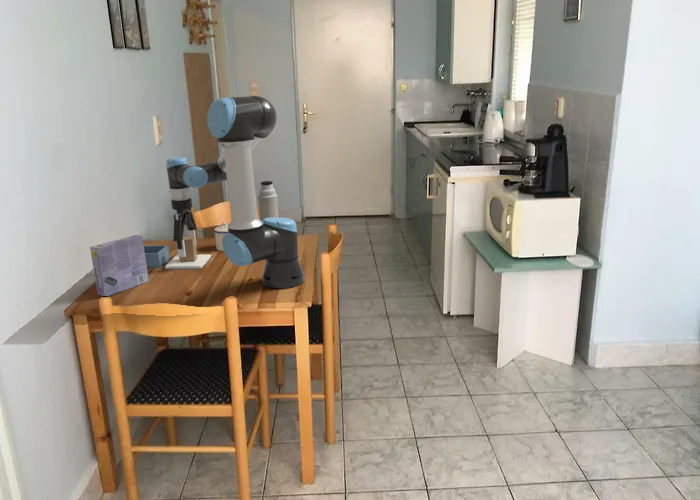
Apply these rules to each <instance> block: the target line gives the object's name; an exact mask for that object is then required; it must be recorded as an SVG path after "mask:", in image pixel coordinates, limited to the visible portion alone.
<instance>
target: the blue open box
mask: <svg viewBox="0 0 700 500" xmlns="http://www.w3.org/2000/svg"><path fill="white" fill-rule="evenodd" d="M169 246H170V245H169V244H168V245H167V244H163V245H162V244H160V245H157V244H155V245H153V244H151V245H145V244H144V251H145V258H146V265H147V269H155V268H156V269H157V268H158V269H159V268H162V267H163V266H164V265H165V264H166V263H167V262H169V260H170V259H171V255H170V248H169Z"/></svg>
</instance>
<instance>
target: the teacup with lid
mask: <svg viewBox="0 0 700 500" xmlns="http://www.w3.org/2000/svg"><path fill="white" fill-rule="evenodd" d="M229 224H230V223H228V222H227V221H223V222H222V223H221V224H220V225H219V226H216V227H215V228H214V230H213V232H214V236H215V237H214V238H215V245H216V250H217V251H219V252H224V249H223V245H222V239H223V236H224V235H225V234H227V233H228V225H229Z"/></svg>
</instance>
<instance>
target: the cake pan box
mask: <svg viewBox="0 0 700 500" xmlns="http://www.w3.org/2000/svg"><path fill="white" fill-rule="evenodd" d="M144 245H145V244H144V236H143V235H138V234H137V235H136V234H134V235H130V236H127V237H124V238H123V237H122V238H119V239H115V240H111V241H108V242H103V243H101V244H96V245H92V246H90V247H89V250H90V256H91V261H92V262H91V263H92V268H93V273H94V280H95V285H96V291H97V292H96V293H97V295H98V296H101V297H103V296H108V297H109V296H112V295H115V294H118V293H121V292H125V291H127V290H130V289H134V288H135V287H138V286H140V285H143V284H144V283H148V282H149V272H148V268H147V265H146V258H145V251H144Z"/></svg>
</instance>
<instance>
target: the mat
mask: <svg viewBox="0 0 700 500" xmlns="http://www.w3.org/2000/svg"><path fill="white" fill-rule="evenodd" d="M213 257H214V256H213V255H211V258H210V259H209V260H208V261H207V262H206V263H205V264H204V266H203V267H202V268H200V269H165V267H164V268H163V270H164V271H166V270H167V271H175V270H177V271H178V270H179V271H180V270H182V271H183V270H184V271H185V270H186V271H187V270H190V271H192V270H203V268H204V267H205V266H206V265H207V264H208V263H209V261H210V260H212V258H213Z"/></svg>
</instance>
